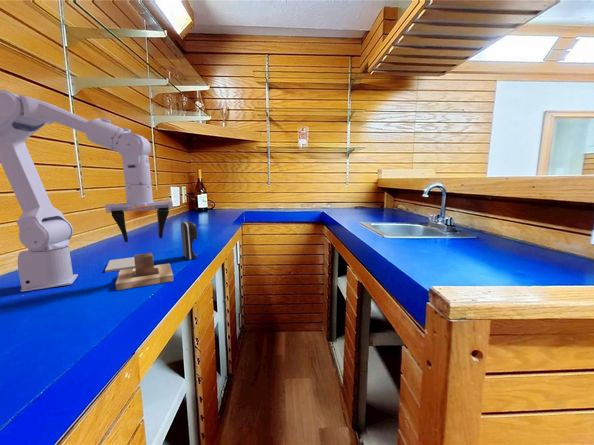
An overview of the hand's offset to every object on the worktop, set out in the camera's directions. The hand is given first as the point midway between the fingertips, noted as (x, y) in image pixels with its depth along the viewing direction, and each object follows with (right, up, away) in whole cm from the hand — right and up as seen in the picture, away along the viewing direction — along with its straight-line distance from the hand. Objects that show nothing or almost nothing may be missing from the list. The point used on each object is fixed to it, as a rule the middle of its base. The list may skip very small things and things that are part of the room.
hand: (143, 239), depth 74 cm
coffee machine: (+5, -7, +21) cm, 22 cm away
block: (0, -10, +1) cm, 10 cm away
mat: (-12, -8, +15) cm, 21 cm away
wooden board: (0, -10, +1) cm, 10 cm away
